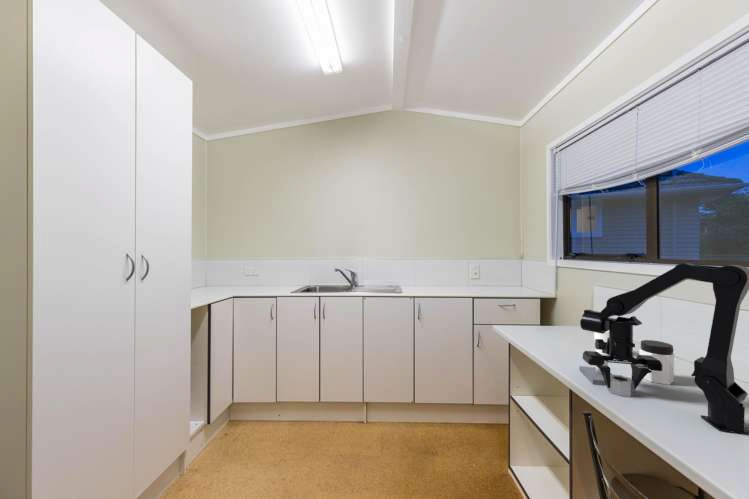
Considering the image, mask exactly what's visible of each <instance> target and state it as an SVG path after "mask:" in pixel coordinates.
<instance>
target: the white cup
mask: <svg viewBox="0 0 749 499" xmlns="http://www.w3.org/2000/svg"><path fill="white" fill-rule="evenodd" d="M608 338H609V331H606V332H605V333H604V334H602V333H597V332H593V339H594V340H593V341H594V342H595V339H603V341H604V342H607V339H608ZM594 351H595V352H598V353H600V354H601V355H603V356H609V354H606V353H602V350H599V349H596V348H595V347H594Z"/></svg>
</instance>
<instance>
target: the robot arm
mask: <svg viewBox="0 0 749 499" xmlns="http://www.w3.org/2000/svg"><path fill="white" fill-rule="evenodd" d="M686 280H687V281H688V280H694V281H699V282H704V283H710V284H712V291H713V295H714V298H715V305H714V311H713V316H712V321H711V322H712V323H711V328H710V334H709V340H708V345H707V349H706V350H707V351H706V355H705V357H703V356H700V357H699V358H696V359H695V360H694V361H693V369H694V370H693V373H691V374H690V375H691V377H694V379H693V380H694V383H695V385H696V386H697V387H698V388H699V389H700V390H701V391H702V392H703V394H704V396H705V399H706V401H707V415H703V414H702V415H700V418H701V419H702V420H704V421H705V422H706V423H708V424H710V425H711V426H712V427H714V428H715V429H716V430H718V431H719V432H720V431H721V432H728V433H729V432H730V433H735V434H736V433H737V434H745V435H746V434H747V435H749V429H748V428H746V426H745V406H744V404H743V403H742V402H743V401H745V399H746V398H747V396H748V392H747V391H746V390H745V389H744V388H743V387H741V386H740V385H739V384H738V383H737V382H736V381H735V372H734V367H733V362H732V353H733V347H734V342H735V337H736V330H737V325H738V319H739V315H740V309H741V304H742V303H743V301H744V299H745V297H746V295H747V293H748V292H749V268H748V267H746V266H744V265H739V264H730V265H724V266H713V265H703V264H701V265H700V264H694V263H690V262H686V263H685V262H684V263H679V264H676V265H675V266H673V268H672V269H670V270H668V271H666V272H665V273H662V274H660V275H659V276H656V277H655V278H653V279H652V280H649V281H648V282H646V283H644V284H642V285H640V286H639V287H636V288H635V289H633V290H630V291H627V292H624V293H620V294H617V295H614V296H612V297H609V298H608V299H607V300H606V305H605V307H604V308H602V310H601V311H597V310H596V311H595V310H592V309H584V310H583V314H582V316H581V319H580V320H579V321H580V324H579V325H580V328H581V329H582V330H583V331H587V332H592V333H594V332H597V333H602V334H604V333H605V332H606V331H609V338H608V339H607V342H604V341H603V339H595V341H594V349H595V348H596V349H599V350H602V353H606V354H609V356H607V355H602V354H600V353H598V352H595V350H593V351H592V350H584V352H582V360H584V362H586V363H587V364H588V365H590V366H595V367H596V366H597V367H598V368H599V369H600V371H601V373H602V375H603V378H604V381H605V383H606V385H605V386H606V388H607V387H608V388H610V373H611V367H610V366H608V365H609V364H608V363H613V364H626V365H630V368H631V379H632V380H633V381H635V390H637V388H638V387H639V385H640V384H641V382H642V381H643V378H644V377H645V376H646V375H647V374H648V373H651V372H652V371H651V370H654V371H662V369H663V365H662V363H661V362H660V361H659V360H658V359H656V358H654V357H652V356H648V355H639V354H637V355H636V357H634V351H633V350H634V348H636V344H635V343H634V339H633V338H634V326H635V327H637V326H640V325H642V324H643V322H642V321H640V320H639V319H638V318H637V316H635V315H632V316H631V317H626V315H630V314H633V313H634V312H636V311H637V310H638V309H639V308H640V307H642V306H643V305H644V304H645V303H646V302H647V301H648V300H650V299H652V298H654V297H655V296H658V295H659V294H661V293H663V292H665V291H667V290H669V289H672V288H673V287H675V286H677V285H679V284H681V283H683V282H685V281H686ZM614 316H617V317H616V318H613V317H614ZM624 316H625V317H624ZM649 369H650V370H649Z"/></svg>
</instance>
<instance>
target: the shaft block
mask: <svg viewBox="0 0 749 499" xmlns="http://www.w3.org/2000/svg"><path fill="white" fill-rule="evenodd" d="M578 368H579V372H580V373H581V374H582V375H583V376H584V377H585V378H586V379H587V381H589V382H590V383H591V385H597V386H606V383H605V381H604V378H603V375H602V373H601V371H600V369H599V368H598V367H597V366H595V367H592V366H583V365H582V366H581V365H580V366H579V367H578ZM611 374H612V373H611V372H610V375H611ZM612 375H614V373H613V374H612Z"/></svg>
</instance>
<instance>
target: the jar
mask: <svg viewBox="0 0 749 499" xmlns="http://www.w3.org/2000/svg"><path fill="white" fill-rule="evenodd" d="M638 351H639V354H638V355H648V356H652V357H654V358H656V359H658V360H659V361H660V362H661V363H662V365H663V369H662V371H654V370H651V371H652V372H651V373H648V374H647V375H646V376H645V377H644V378H643V379H644V380H646V381H647V382H650V383H655V384H662V385H668V386H669V385H671V384H673V383H674V382H675V353H674V345H672V344H671V343H667V342H664V341H658V340H652V339H649V340H648V339H645V340H641V341H640V348H639V350H638ZM649 370H650V369H649ZM643 379H642V380H643Z"/></svg>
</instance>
